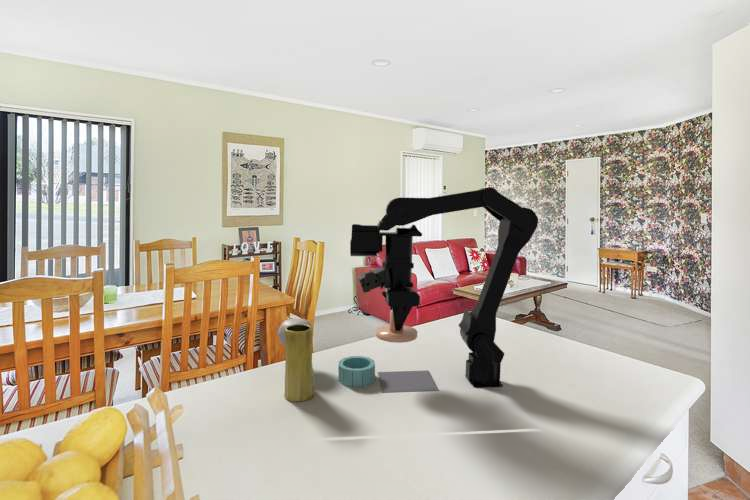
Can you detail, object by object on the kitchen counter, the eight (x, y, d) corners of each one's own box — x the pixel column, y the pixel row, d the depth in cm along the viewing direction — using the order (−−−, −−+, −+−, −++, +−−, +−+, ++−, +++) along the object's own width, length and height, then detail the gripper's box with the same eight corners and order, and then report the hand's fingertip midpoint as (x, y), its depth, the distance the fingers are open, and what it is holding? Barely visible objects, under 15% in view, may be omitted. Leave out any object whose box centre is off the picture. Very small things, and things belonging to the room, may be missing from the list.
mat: (428, 372, 94) (428, 370, 94) (439, 392, 84) (439, 390, 84) (377, 373, 93) (377, 372, 93) (382, 394, 83) (382, 392, 83)
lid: (413, 328, 92) (413, 305, 92) (420, 342, 83) (421, 316, 83) (374, 329, 92) (374, 305, 91) (377, 342, 83) (378, 316, 82)
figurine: (288, 361, 100) (287, 314, 99) (317, 363, 99) (316, 316, 97) (274, 374, 92) (272, 323, 91) (305, 377, 91) (304, 326, 89)
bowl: (373, 372, 94) (373, 355, 93) (376, 387, 86) (376, 369, 86) (338, 373, 93) (338, 356, 93) (338, 389, 85) (338, 371, 85)
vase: (308, 403, 79) (307, 333, 77) (279, 400, 80) (277, 331, 79) (318, 389, 85) (317, 324, 83) (291, 386, 86) (290, 322, 85)
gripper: (358, 251, 94) (357, 316, 96) (363, 263, 75) (362, 343, 77) (405, 251, 95) (403, 315, 97) (421, 263, 76) (419, 343, 78)
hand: (396, 328), depth 87 cm, fingers closed on lid, 3 cm apart
